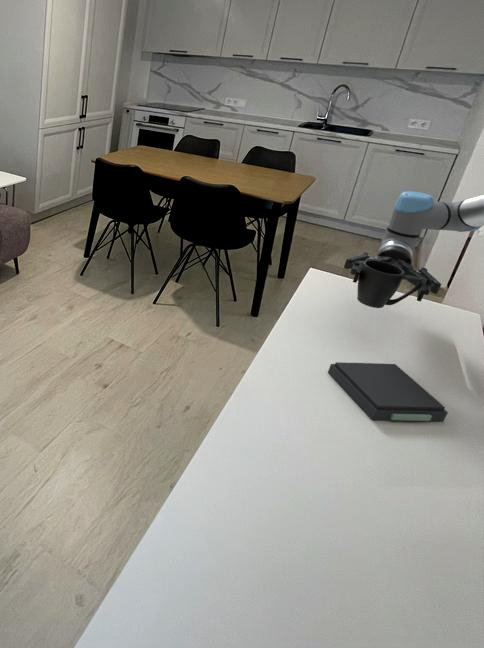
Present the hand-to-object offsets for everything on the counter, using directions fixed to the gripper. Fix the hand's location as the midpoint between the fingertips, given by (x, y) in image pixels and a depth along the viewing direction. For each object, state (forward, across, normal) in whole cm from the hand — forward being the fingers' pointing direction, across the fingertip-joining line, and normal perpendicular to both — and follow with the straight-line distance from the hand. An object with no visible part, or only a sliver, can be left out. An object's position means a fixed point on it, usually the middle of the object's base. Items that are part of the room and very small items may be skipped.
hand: (387, 286), depth 114 cm
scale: (+17, -5, -18) cm, 25 cm away
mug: (-4, 0, -7) cm, 8 cm away
